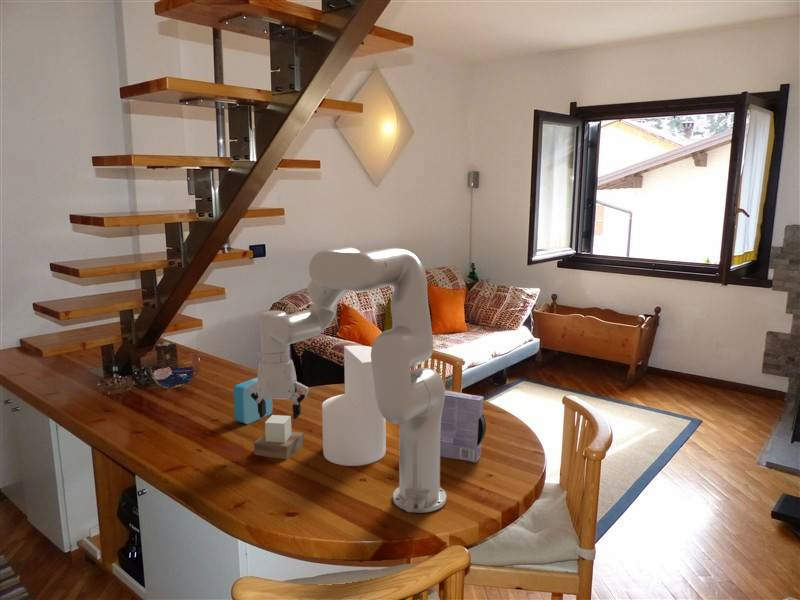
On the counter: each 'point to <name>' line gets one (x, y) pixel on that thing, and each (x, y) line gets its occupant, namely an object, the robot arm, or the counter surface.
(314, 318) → the robot arm
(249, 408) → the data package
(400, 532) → the counter surface
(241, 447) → the counter surface
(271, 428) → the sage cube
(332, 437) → the white bottle-shaped block
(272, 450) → the pinkish brown square block
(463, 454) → the cake pan box
